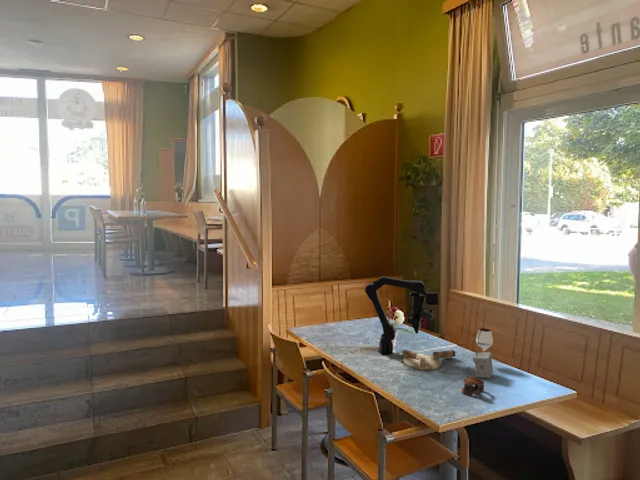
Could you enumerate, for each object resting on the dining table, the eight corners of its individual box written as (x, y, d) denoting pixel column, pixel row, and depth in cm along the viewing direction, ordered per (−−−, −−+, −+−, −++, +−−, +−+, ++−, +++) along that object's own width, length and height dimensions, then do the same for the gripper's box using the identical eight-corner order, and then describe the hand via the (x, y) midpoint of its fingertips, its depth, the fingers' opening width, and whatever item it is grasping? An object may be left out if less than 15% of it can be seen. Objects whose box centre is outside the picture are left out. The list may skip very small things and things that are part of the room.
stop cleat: (443, 359, 250) (444, 352, 250) (441, 357, 252) (441, 351, 252) (451, 358, 252) (452, 351, 251) (449, 356, 254) (449, 350, 253)
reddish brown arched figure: (455, 391, 211) (461, 373, 213) (473, 399, 213) (479, 381, 215) (470, 395, 200) (477, 376, 202) (489, 404, 201) (495, 385, 204)
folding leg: (434, 359, 245) (435, 353, 245) (432, 357, 247) (432, 351, 247) (455, 356, 249) (455, 351, 249) (452, 354, 252) (452, 349, 251)
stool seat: (416, 372, 231) (416, 363, 231) (395, 358, 250) (396, 350, 250) (449, 367, 238) (449, 359, 237) (427, 354, 257) (427, 347, 256)
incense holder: (475, 370, 235) (476, 349, 234) (492, 373, 231) (494, 352, 230) (471, 377, 226) (472, 355, 225) (490, 380, 223) (491, 358, 222)
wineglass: (491, 362, 246) (493, 328, 244) (491, 368, 238) (493, 333, 237) (474, 360, 249) (476, 326, 247) (474, 365, 241) (476, 331, 239)
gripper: (429, 310, 241) (428, 340, 242) (436, 302, 257) (435, 331, 259) (407, 307, 245) (406, 337, 247) (416, 300, 262) (415, 328, 264)
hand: (416, 333), depth 254 cm, fingers closed
